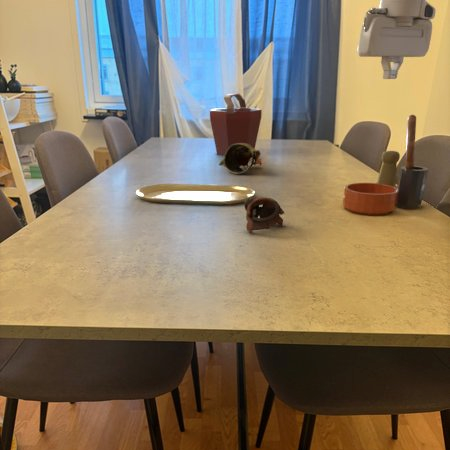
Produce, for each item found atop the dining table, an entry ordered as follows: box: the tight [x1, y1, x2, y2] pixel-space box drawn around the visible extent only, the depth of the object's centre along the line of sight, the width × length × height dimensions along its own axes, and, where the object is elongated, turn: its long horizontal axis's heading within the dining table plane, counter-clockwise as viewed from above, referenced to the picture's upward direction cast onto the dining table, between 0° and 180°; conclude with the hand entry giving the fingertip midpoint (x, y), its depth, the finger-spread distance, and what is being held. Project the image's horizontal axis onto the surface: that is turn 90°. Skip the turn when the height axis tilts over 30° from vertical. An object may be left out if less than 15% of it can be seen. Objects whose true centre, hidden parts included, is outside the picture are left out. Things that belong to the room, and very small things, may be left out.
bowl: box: [342, 182, 399, 216], centre depth 114 cm, size 13×13×6 cm
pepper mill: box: [376, 150, 401, 188], centre depth 135 cm, size 6×6×11 cm
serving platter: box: [135, 183, 256, 206], centre depth 127 cm, size 19×35×2 cm, turn 82°
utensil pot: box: [396, 165, 429, 210], centre depth 115 cm, size 7×7×10 cm
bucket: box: [209, 92, 263, 157], centre depth 193 cm, size 24×22×25 cm
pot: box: [218, 143, 263, 175], centre depth 159 cm, size 17×11×18 cm
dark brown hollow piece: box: [243, 196, 285, 234], centre depth 100 cm, size 12×10×8 cm
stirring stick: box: [405, 114, 417, 170], centre depth 113 cm, size 2×2×22 cm
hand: (389, 78), depth 103 cm, fingers closed
